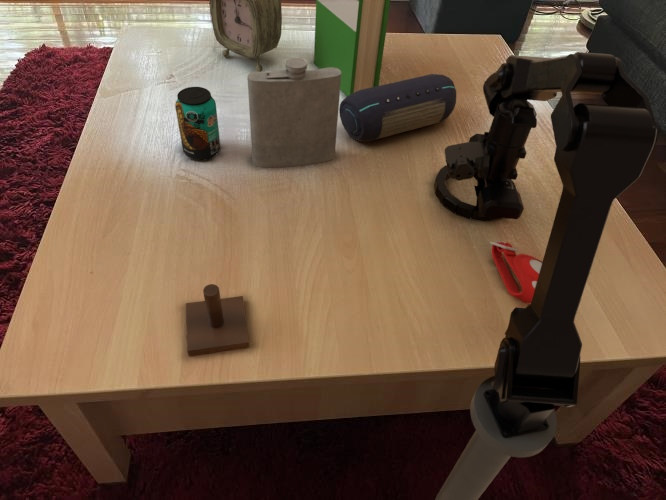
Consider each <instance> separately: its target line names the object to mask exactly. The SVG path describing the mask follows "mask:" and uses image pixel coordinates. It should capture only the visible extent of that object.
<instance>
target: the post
mask: <svg viewBox="0 0 666 500" xmlns="http://www.w3.org/2000/svg"><path fill="white" fill-rule="evenodd" d="M220 292H221V291H220V287H219V286H218V285H217V284H213V283H210V284H206V285H205V286H204V288H203V290H202V294H203V298H204V300H201V301H193V302H185V320H186V321H185V323H186V324H185V325H186V349H187V354H188V356H189V357H191V356H196V355H204V354H210V353H217V352H222V351H231V350H237V349H238V350H239V349H245V348H250V339H249V333H248V325H247V317H246V309H245V303H244V296H243V295H239V296H232V297H226V298H225V297H223V298H221V293H220Z"/></svg>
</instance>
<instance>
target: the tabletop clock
mask: <svg viewBox="0 0 666 500" xmlns="http://www.w3.org/2000/svg"><path fill="white" fill-rule="evenodd" d="M209 11H210V19H211V25H212V30H213V34H214V37H215V40H216V41H217V42H218V44H220V45H221V46H222V47H224V48H225V49H224V50H223V51H222V53H221V55H222V56H223V57H224V58H228V57H229V56H230V52H229V51H231V52H233V53H234V54H236V55H239V56H242V57H244V58H247V59H256V66H255V72H256V71H259V72H263V67H262V65H261V64H260V63H261V62H260V61H261V56H262V55H264V54H266V53H268V52H270V51H272V50H275V49H276V48H278V46H279V43H280V40H281V38H282V28H283V27H282V26H283V13H282V12H283V11H282V0H209Z"/></svg>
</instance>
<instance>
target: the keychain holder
mask: <svg viewBox="0 0 666 500" xmlns="http://www.w3.org/2000/svg"><path fill="white" fill-rule="evenodd" d="M489 244H490V245H491V257H492V259H493V261H494V264H495V266H496V268H497V271H498V273H499V275H500V277H501V280H502V281H503V284H504V286H505V288H506V291H507V292H508V293H509V295H511V296H512V297H514V298H515V299H517V300H519V301H520V302H523V303H525V304H531V301H532V298H533V294H534V291H535V287H536V283H537V280H538V276H539V273H540V269H541V265H542V262H543V260H540V259H538V258H537V257H534V256H532V255H529V254H524V253H519V254H516V252H517V253H518V252H519V249H518V248H515V247H513V245H512V244H511V243H510V242H505V241H503V240H496V242H495V241H490V242H489ZM505 260H506V262H507V264H508V265H509V267H510V268H511V271H512V272H513V273H514V276H515V277H516V278H517V279H518V282H519V284H520V285H519V286H520V288H521V291H520V290H519V288H518V285H517V283H516V281H515V279H514V278H513V275H512V274H511V271H510V269H509V267H508V265H507V264H506V262H505Z"/></svg>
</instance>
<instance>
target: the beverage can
mask: <svg viewBox="0 0 666 500" xmlns="http://www.w3.org/2000/svg"><path fill="white" fill-rule="evenodd" d="M176 97H177V99H176V101H175V102H174V103H175V104H174V107H175V113H176V119H177V125H178V130H179V136H180V143H181V148H182V152H183V154H184V155H186V157H188V158H190V160H194V161H198V162H199V161H200V162H201V161H202V162H203V161H208V160H211V159H213V158H215V157H216V156H217V155H218V154H219V153H220V151H221V139H220V138H221V137H220V129H219V128H220V127H219V119H218V111H217V103H216V100H215V99H214V97H213V96H212V93H211V91H210V90H209V89H207V88H205V87H201V86H189V87H185V88H182V89H181V90H179V91H178V93H177V95H176Z"/></svg>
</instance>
